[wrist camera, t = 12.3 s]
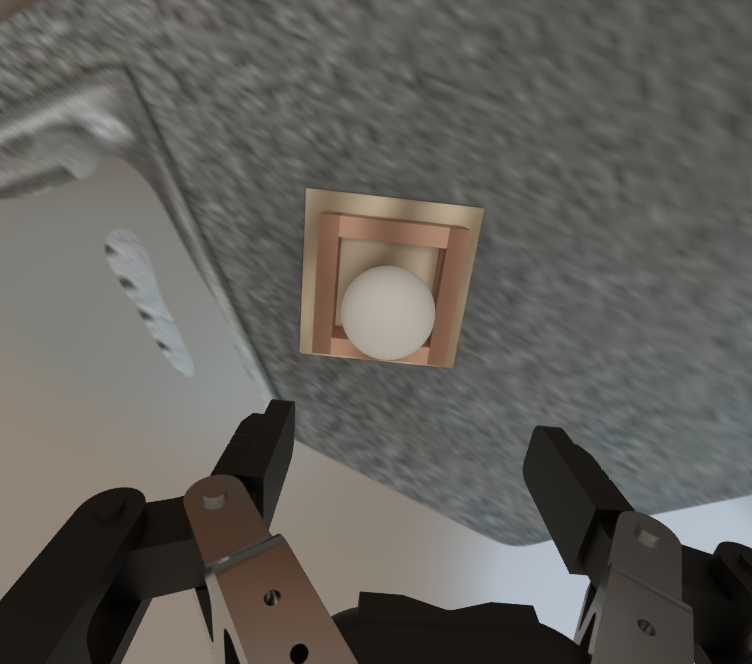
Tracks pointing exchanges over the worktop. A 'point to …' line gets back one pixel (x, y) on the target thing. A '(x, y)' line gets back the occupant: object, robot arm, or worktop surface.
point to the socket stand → (385, 264)
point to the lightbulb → (388, 312)
